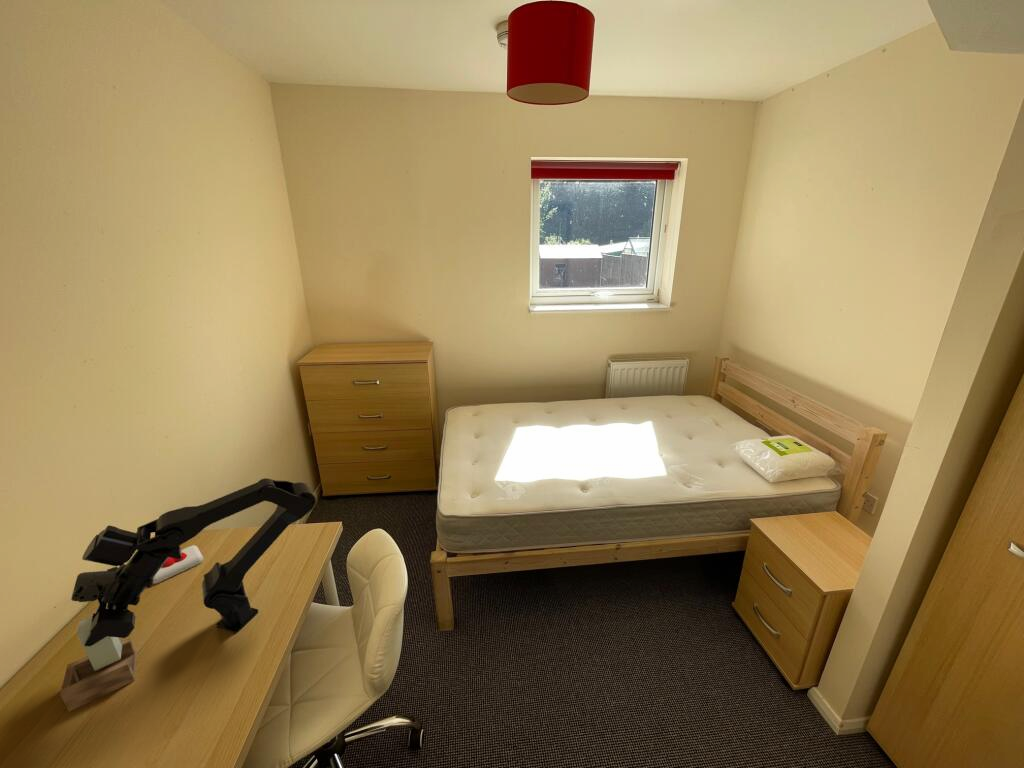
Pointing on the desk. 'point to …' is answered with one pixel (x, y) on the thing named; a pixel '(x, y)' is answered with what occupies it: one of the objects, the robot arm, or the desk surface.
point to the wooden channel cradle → (97, 678)
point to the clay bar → (99, 646)
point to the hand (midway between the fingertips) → (88, 638)
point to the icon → (179, 564)
